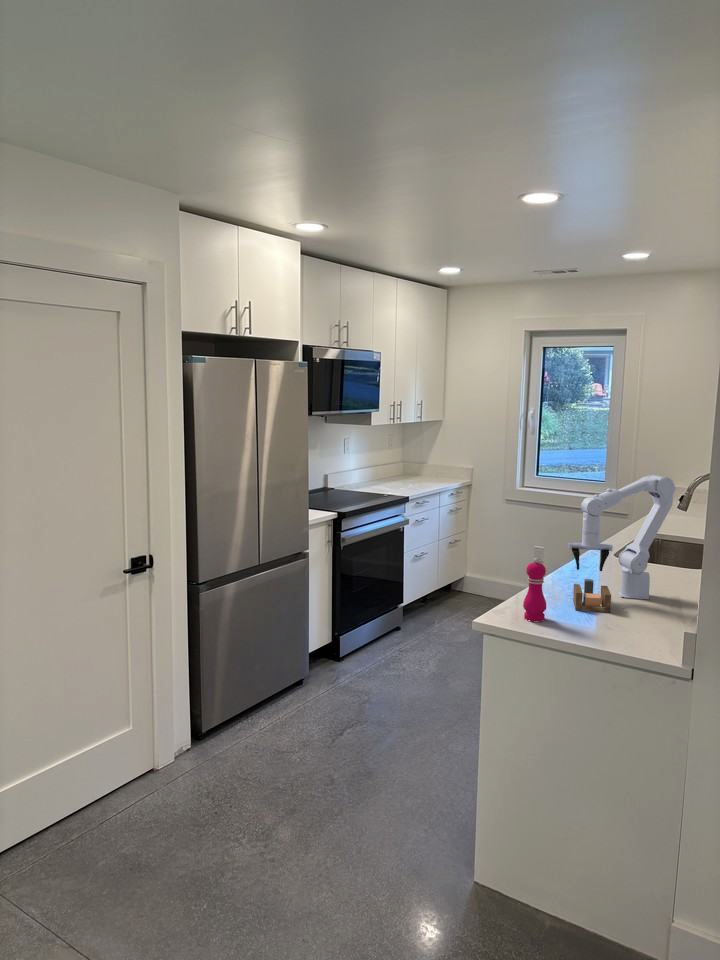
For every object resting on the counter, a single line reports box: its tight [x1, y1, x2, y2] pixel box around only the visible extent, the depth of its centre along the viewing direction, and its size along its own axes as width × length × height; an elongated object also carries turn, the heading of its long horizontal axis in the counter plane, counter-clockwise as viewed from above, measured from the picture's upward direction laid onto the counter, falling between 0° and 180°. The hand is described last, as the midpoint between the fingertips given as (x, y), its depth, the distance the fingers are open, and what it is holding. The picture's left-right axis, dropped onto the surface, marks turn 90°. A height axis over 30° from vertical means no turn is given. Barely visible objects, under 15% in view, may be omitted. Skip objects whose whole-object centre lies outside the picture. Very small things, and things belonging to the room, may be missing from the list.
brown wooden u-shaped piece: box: [572, 583, 612, 614], centre depth 230 cm, size 11×11×6 cm
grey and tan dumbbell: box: [582, 578, 601, 607], centre depth 234 cm, size 5×16×6 cm, turn 167°
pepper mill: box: [522, 557, 547, 622], centre depth 216 cm, size 7×7×20 cm
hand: (589, 569), depth 239 cm, fingers open, 7 cm apart
